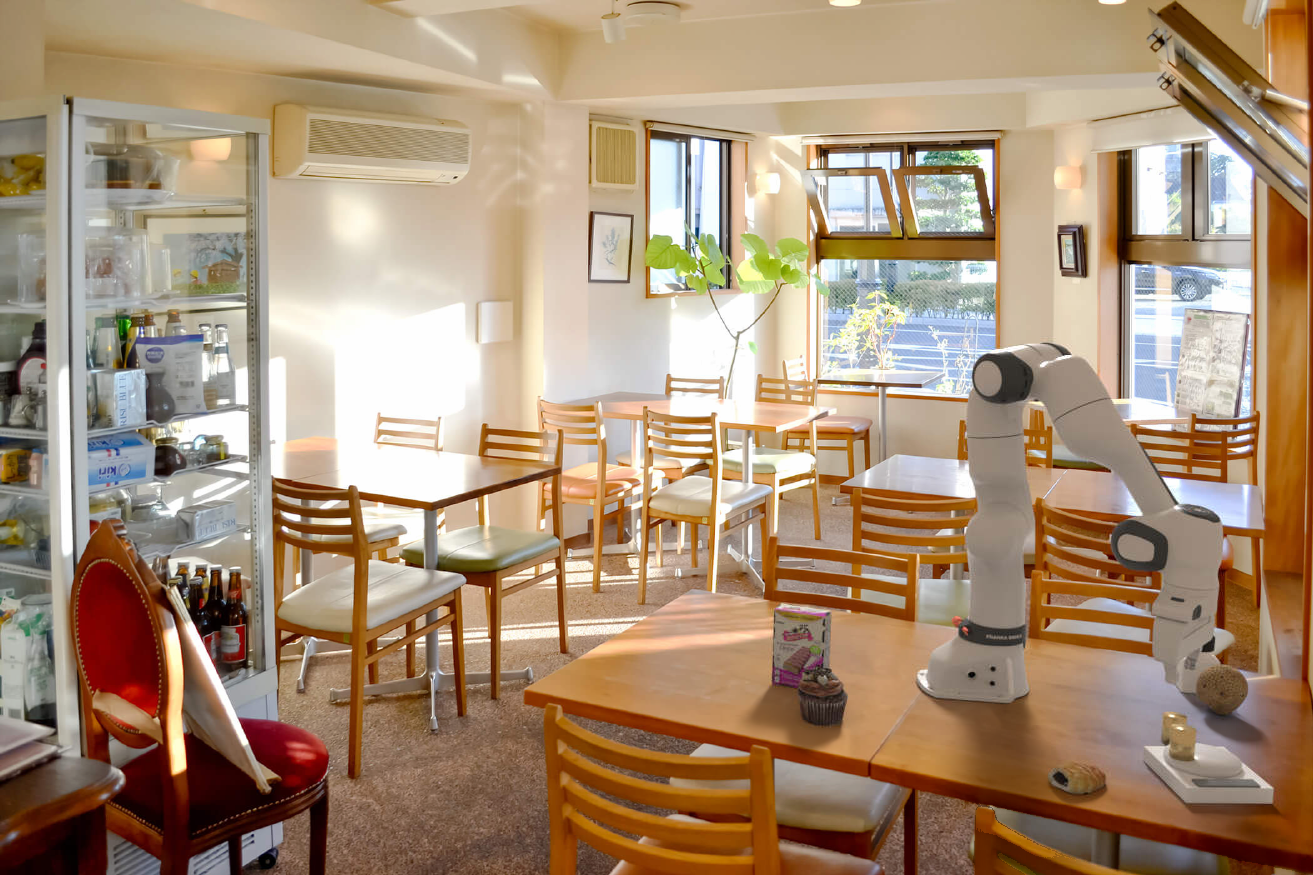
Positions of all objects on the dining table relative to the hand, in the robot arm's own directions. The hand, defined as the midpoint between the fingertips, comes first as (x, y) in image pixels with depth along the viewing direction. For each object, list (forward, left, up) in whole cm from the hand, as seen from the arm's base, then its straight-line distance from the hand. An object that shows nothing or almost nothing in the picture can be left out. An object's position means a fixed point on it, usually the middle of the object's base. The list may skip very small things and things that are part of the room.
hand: (1181, 675), depth 192 cm
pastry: (-21, -10, -16) cm, 28 cm away
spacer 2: (-2, -7, -12) cm, 14 cm away
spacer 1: (+3, +8, -16) cm, 18 cm away
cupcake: (-60, +18, -16) cm, 64 cm away
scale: (+1, -8, -16) cm, 18 cm away
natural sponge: (+18, +21, -16) cm, 32 cm away
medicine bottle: (+20, +35, -16) cm, 43 cm away
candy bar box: (-62, +35, -16) cm, 73 cm away
